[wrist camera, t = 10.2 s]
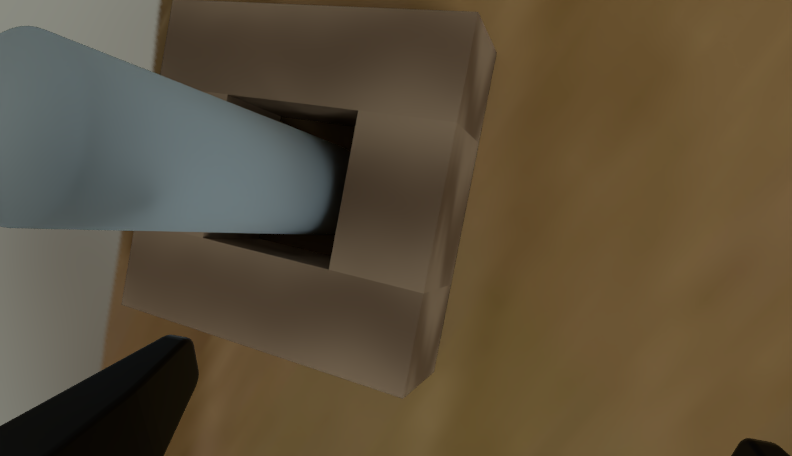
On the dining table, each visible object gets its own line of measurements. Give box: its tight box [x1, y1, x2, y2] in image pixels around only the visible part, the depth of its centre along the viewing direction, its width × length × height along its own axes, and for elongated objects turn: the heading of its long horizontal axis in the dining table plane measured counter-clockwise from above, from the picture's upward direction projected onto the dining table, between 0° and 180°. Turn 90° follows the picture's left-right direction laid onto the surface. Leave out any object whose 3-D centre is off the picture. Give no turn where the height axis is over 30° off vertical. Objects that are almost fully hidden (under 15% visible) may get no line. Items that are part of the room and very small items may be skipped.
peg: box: [0, 26, 350, 235], centre depth 17 cm, size 4×4×14 cm
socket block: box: [121, 0, 497, 398], centre depth 22 cm, size 14×14×4 cm
